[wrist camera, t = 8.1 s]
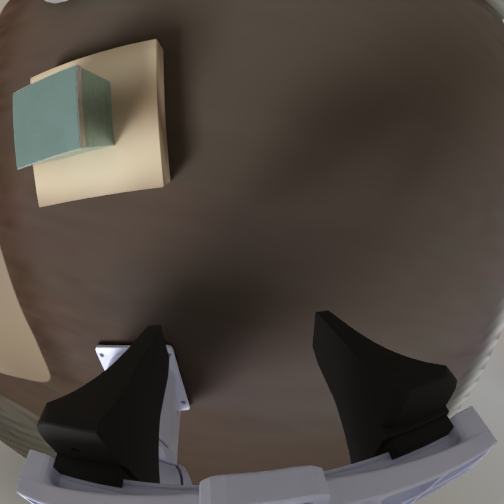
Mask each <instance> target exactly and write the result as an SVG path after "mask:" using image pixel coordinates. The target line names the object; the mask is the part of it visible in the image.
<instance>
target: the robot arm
mask: <svg viewBox="0 0 504 504" xmlns="http://www.w3.org/2000/svg"><path fill="white" fill-rule="evenodd" d="M313 349H314V352H315V356H316V359H317V362H318V365H319V367H320V369H321V371H322V373H323V376H324V378H325V380H326V382H327V384H328V386H329V389H330V391H331V393H332V395H333V397H334V400H335V403H336V405H337V408H338V412H339V415H340V418H341V422H342V425H343V429H344V433H345V436H346V441H347V445H348V449H349V454H350V459H351V464H350V465H347V466H343V467H339V468H335V469H331V470H327V471H323V470H322V468H320V467H316V466H311V465H307V466H296V467H290V468H283V469H277V470H269V471H261V472H251V473H239V474H224V475H217V476H211V477H209V478H206V479H204V480H202V481H201V482H200V485H192V483H191V479H190V477H189V475H188V472H187V470H186V469H185V468H184V467H183V466H181V465H179V464H177V451H178V439H179V426H180V414H181V410H188V409H190V404H189V401H188V398H187V395H186V392H185V388H184V385H183V382H182V378H181V375H180V371H179V368H178V364H177V361H176V357H175V353H174V350H173V347H172V346H170V345H166V344H165V340H164V336H163V332H162V329H161V325H154V326H148V327H147V328H146V329H145V330H144V331H143V332H142V333H141V334H140V336H139V337H138V338H137V339H136V340H135V341H134V342H133V344H132V345H97V346H96V349H95V350H96V352H97V355H98V357H99V359H100V362H101V364H102V366H103V368H104V370H105V371H104V372H103V373H101V374H100V375H99V376H97V377H96V378H95V379H93V380H92V381H90V382H89V383H87V384H86V385H84V386H83V387H81V388H79V389H77V390H76V391H74V392H72V393H70V394H68V395H66V396H63V397H61V398H59V399H56V400H54V401H51V402H48V403H47V404H46V406H45V408H44V410H43V412H42V415H41V417H40V419H39V421H38V424H37V429H38V431H39V433H40V435H41V436H42V437H43V439H44V440H45V441H46V442H47V443H48V444H49V445H50V446H51V447H52V448H53V449H54V450H55V452H56V453H57V456H56V459H55V458H53V457H51V456H49V455H47V454H44V453H41V452H38V451H35V450H30V451H29V453H28V456H27V459H26V461H25V464H24V467H23V470H22V473H21V476H20V479H19V482H18V485H17V488H16V492H17V493H18V494H19V495H21V496H22V497H23V498H25V499H26V500H28V501H29V502H31V503H32V504H413V503H415V502H417V501H419V500H421V499H423V498H425V497H426V496H428V495H430V494H432V493H434V492H435V491H437V490H438V489H440V488H442V487H444V486H445V485H447V484H448V483H450V482H452V481H453V480H455V479H457V478H458V477H460V476H461V475H463V474H464V473H466V472H468V471H469V470H470V469H471V468H473V466H475V464H477V463H478V462H479V461H480V460H481V459H482V458H483V457H484V456H485V455H486V454H487V453H488V452H489V451H490V450H491V448H492V447H493V446H494V445H495V444H496V443H497V440H496V439H495V437H494V436H493V434H492V433H491V431H490V430H489V429H488V427H487V426H486V425H485V423H484V422H483V420H482V419H481V418H480V416H479V415H478V413H477V412H476V411H475V409H474V408H473V407H472V406H470V407H469V408H467V409H465V410H463V411H461V412H460V413H458V414H456V415H454V416H453V417H452V418H451V419H450V420H449V418H448V417H447V414H448V413H449V410H448V409H447V407H446V404H447V403H448V401H449V399H450V398H451V396H452V394H453V392H454V390H455V388H456V384H457V380H456V378H455V376H454V375H453V374H452V373H451V371H450V370H449V369H448V368H447V367H446V366H445V365H439V364H433V363H427V362H423V361H419V360H416V359H412V358H409V357H406V356H403V355H401V354H398V353H395V352H393V351H391V350H388V349H386V348H384V347H382V346H380V345H378V344H376V343H375V342H373V341H371V340H370V339H368V338H366V337H365V336H363V335H361V334H360V333H358V332H357V331H355V330H354V329H353V328H351V327H350V326H348V325H347V324H346V323H344V322H343V321H342V320H340V319H339V318H338V317H336V316H335V315H334V314H332V313H331V312H329V311H320V312H316V314H315V326H314V336H313ZM101 353H102V354H101ZM168 353H169V354H171V355H169V354H168Z"/></svg>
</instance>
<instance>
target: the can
mask: <svg viewBox="0 0 504 504" xmlns="http://www.w3.org/2000/svg"><path fill="white" fill-rule="evenodd" d="M45 1H47V2H51V3H59V2H65V1H67V0H45Z"/></svg>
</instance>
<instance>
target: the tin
mask: <svg viewBox="0 0 504 504" xmlns="http://www.w3.org/2000/svg"><path fill="white" fill-rule="evenodd" d="M13 125H14V141H15V152H16V161H17V169H18V170H19V169H23V168H26V167H28V166H32V165H37V164H42V163H46V162H52V161H57V160H61V159H65V158H68V157H71V156H75V155H79V154H82V153H86V152H90V151H93V150H97V149H101V148H105V147H110V146H114V145H115V141H114V131H113V120H112V107H111V88H110V81H108V80H106V79H104V78H102V77H100V76H98V75H96V74H94V73H91V72H89V71H87V70H85V69H83V68H82V66H80V65H78V64H77V65H74V66H72V67H69V68H66V69H64V70H61V71H59V72H57V73H54V74H52V75H50V76H47V77H45V78H43V79H41V80H39V81H36V82H34V83H32V84H30V85H28V86H26V87H24V88H22V89H20V90H18V91H16V92H15V93H13Z"/></svg>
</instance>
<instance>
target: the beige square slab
mask: <svg viewBox="0 0 504 504" xmlns="http://www.w3.org/2000/svg"><path fill="white" fill-rule="evenodd" d="M77 64H78V65H80V66H82V68H83V69H85V70H87V71H89V72H91V73H94V74H96V75H98V76H100V77H102V78H104V79H106V80H108V81H110V88H111V107H112V120H113V131H114V141H115V145H114V146H110V147H105V148H101V149H97V150H93V151H90V152H86V153H82V154H79V155H75V156H71V157H68V158H65V159H61V160H57V161H52V162H46V163H42V164H37V165H33V168H34V177H35V184H36V191H37V197H38V203H39V207H43V206H48V205H53V204H58V203H63V202H68V201H73V200H79V199H84V198H90V197H96V196H102V195H108V194H114V193H121V192H128V191H135V190H142V189H150V188H158V187H164V186H165V185H167V184H168V183H169V182H171V181H170V171H169V160H168V148H167V134H166V118H165V98H164V62H163V49H162V47H161V46H160V44H159V42H158V41H157V39H153V40H148V41H143V42H138V43H134V44H129V45H125V46H121V47H117V48H113V49H110V50H106V51H102V52H99V53H96V54H92V55H89V56H86V57H83V58H80V59H77V60H74V61H71V62H69V63H66V64H63V65H61V66H58V67H56V68H53V69H51V70H48V71H46V72H43V73H41V74H39V75H37V76H34V77H32V78H31V82H30V84H32V83H34V82H36V81H39V80H41V79H43V78H45V77H47V76H50V75H52V74H54V73H57V72H59V71H61V70H64V69H66V68H69V67H72V66H74V65H77Z"/></svg>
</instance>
